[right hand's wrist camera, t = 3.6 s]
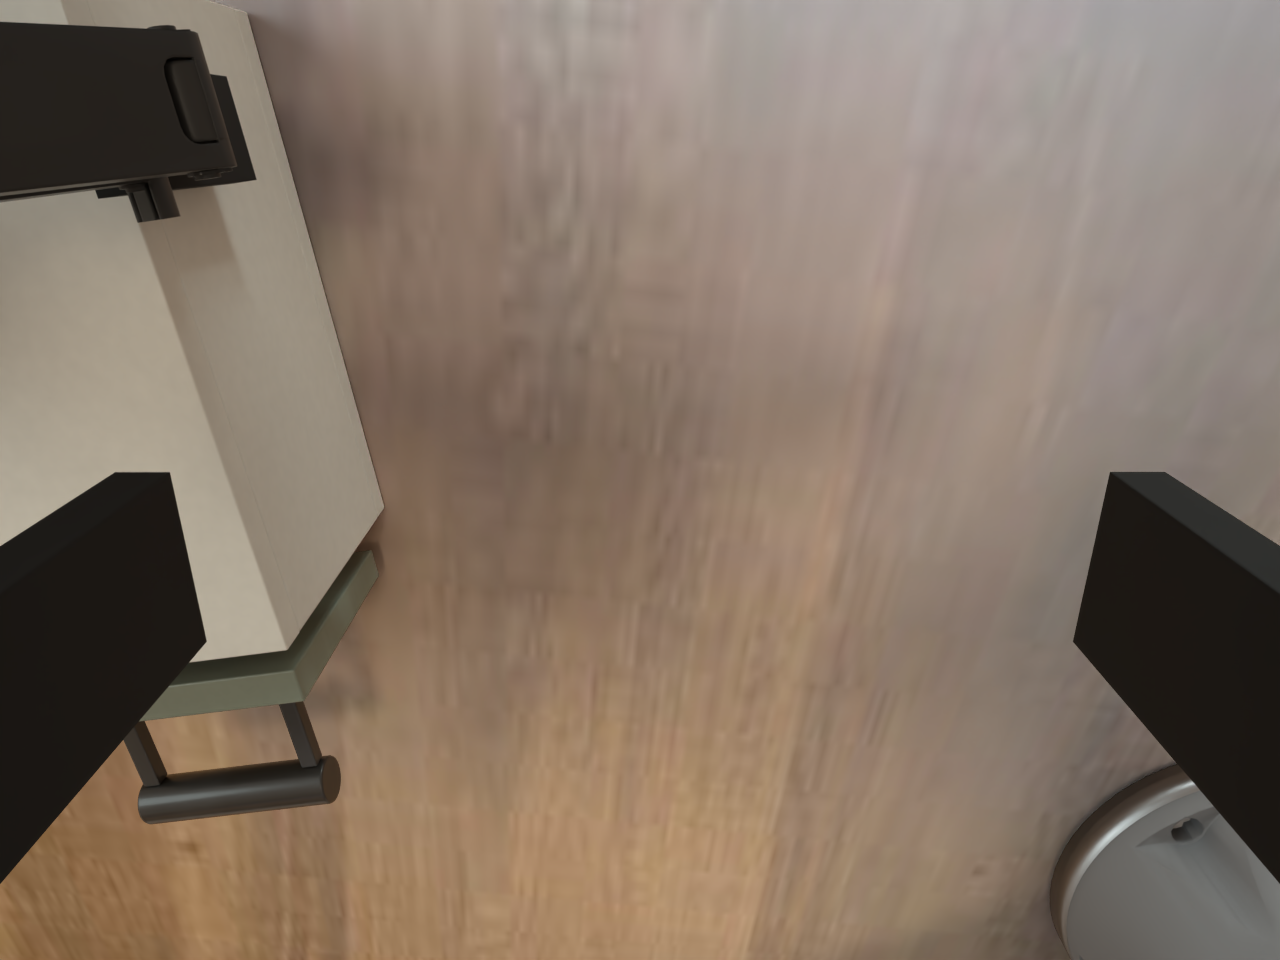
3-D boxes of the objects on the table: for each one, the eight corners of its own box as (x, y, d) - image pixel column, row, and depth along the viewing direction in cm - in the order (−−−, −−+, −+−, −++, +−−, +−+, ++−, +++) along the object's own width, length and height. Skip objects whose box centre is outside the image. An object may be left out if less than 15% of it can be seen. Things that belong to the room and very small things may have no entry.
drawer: (414, 695, 37) (354, 845, 29) (197, 722, 38) (81, 876, 30) (252, 137, 29) (109, 139, 21) (-23, 182, 29) (-264, 198, 22)
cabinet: (385, 507, 35) (288, 650, 25) (127, 542, 36) (-65, 695, 26) (247, 11, 28) (43, -53, 19) (-67, 64, 29) (-423, 28, 19)
